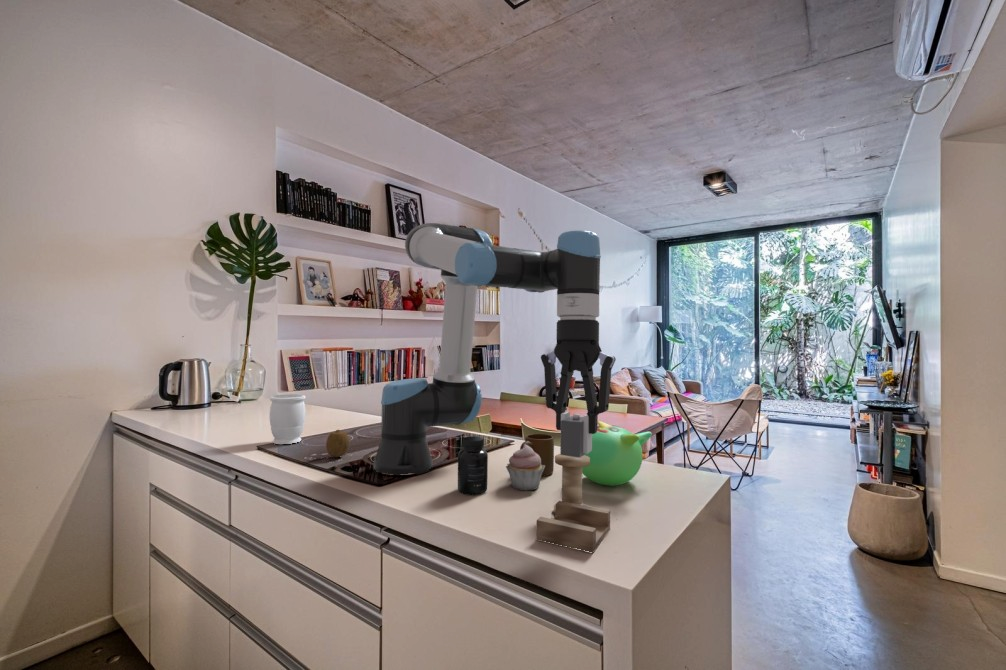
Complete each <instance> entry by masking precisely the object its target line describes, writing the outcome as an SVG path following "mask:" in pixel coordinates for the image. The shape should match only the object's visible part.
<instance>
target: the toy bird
mask: <svg viewBox="0 0 1006 670" xmlns="http://www.w3.org/2000/svg"><path fill="white" fill-rule="evenodd" d="M652 435H653V433H652V432H651V431H643V432H639V433H635V434H634V433H632V432H631V431H629V430H627V429H625V428H623V427H621V426H618V425H613V424H612V425H611V424H608V423H607V422H604V421H601V420H598V424H597V432H596V433H595V434H592V451H590V452H589V453H587V454H585V456H588V457H589V458H590V465H588V466H585V467H582V475H583V476H585V477H586V479H589V480H590V481H591V482H594V483H597V484H600V485H603V486H620V485H624V484H626V483H628V482H630V481H631V480H632V479H634V478H635V477H636V475H637V474H638V472H639V471H640V470H641V469H640V468H641V466H642V462H643V457H644V456H643V448H642V447H643V445H644V444H646V443H647V441H648V440H649V439H651V437H652Z"/></svg>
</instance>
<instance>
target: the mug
mask: <svg viewBox="0 0 1006 670" xmlns="http://www.w3.org/2000/svg"><path fill="white" fill-rule="evenodd" d="M524 437H525V439H524V441H523V442H522V443H521V444H520V447H519V450H520V449H523V446H524V444H526V445H527V446H529V447H531V448H532V449H533V451H534V452H535V453H537V454H538V455H539V456H540V458H541V465H544V466H545V467H544V470H543V473H542V475H541V477H548V476H551V475H552V474H553V473H554V464H555V441H554V440H555V438H554V436H552V435H550V434H545V433H531V434H526V435H525V436H524Z"/></svg>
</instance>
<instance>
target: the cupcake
mask: <svg viewBox="0 0 1006 670" xmlns="http://www.w3.org/2000/svg"><path fill="white" fill-rule="evenodd" d="M544 467H545V466H544V465H541V458H540V456H539V455H538V454H537V453H535V452H534V451H533V449H532V448H531V447H529V446H527V445H526V444H524V446H523V449H520V448H519V449H518V450H516V451H515V452H513V454H512V455H511V456H510V457H509V459H508V463H506V466H505V468H506V471H507V472H508V475H509V478H510V482H511V486H512V487H513V488H514V489H516V490H518V491H519V490H521V491H533V490H536V489H538V488H539V486H540V484H541V483H540V482H541V479H542V476H541V475H542V473H543V470H544Z"/></svg>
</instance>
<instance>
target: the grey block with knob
mask: <svg viewBox="0 0 1006 670" xmlns="http://www.w3.org/2000/svg"><path fill="white" fill-rule="evenodd" d="M583 419H584V416H581V415H580V414H579V413H574V414H572V415H570V417H569V418H566V419H563V420H561V430H560V445H561V449H560V452H559V454H560V455H565V456H572V457H579V458H580V457H581V456H583V455H585V454H586V453H583V434H584V421H583Z"/></svg>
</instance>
